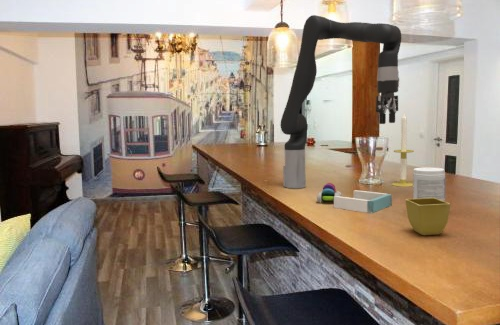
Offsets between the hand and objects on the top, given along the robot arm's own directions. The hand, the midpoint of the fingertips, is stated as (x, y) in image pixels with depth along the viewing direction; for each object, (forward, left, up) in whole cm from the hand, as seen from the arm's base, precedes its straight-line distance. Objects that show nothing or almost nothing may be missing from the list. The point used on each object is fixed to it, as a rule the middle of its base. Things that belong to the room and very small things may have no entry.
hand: (387, 123), depth 163 cm
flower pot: (+30, -37, -29) cm, 56 cm away
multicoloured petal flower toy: (-14, -18, -29) cm, 37 cm away
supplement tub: (+22, -15, -29) cm, 39 cm away
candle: (-7, +31, -29) cm, 43 cm away
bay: (0, -18, -29) cm, 34 cm away
